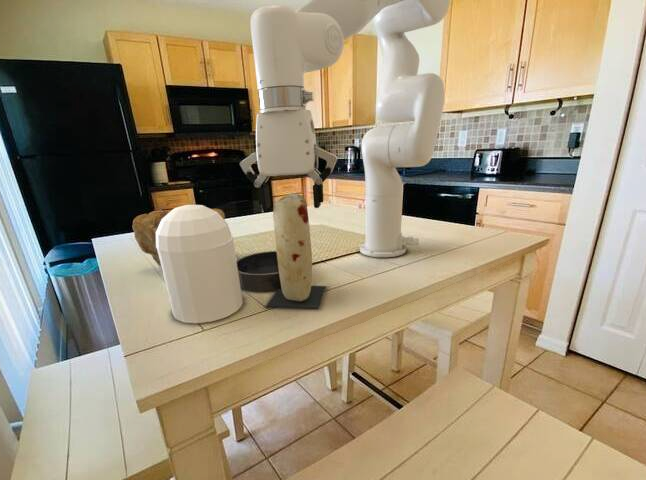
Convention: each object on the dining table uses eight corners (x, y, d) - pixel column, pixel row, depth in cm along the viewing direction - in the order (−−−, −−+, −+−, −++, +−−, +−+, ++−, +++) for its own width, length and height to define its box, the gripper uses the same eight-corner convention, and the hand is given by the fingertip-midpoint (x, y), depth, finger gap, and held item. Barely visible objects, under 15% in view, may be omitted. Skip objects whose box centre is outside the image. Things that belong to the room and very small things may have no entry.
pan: (310, 266, 85) (309, 251, 83) (295, 293, 70) (294, 275, 68) (249, 265, 88) (247, 250, 86) (222, 291, 73) (219, 274, 72)
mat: (325, 287, 72) (325, 285, 72) (317, 309, 63) (317, 307, 63) (280, 286, 74) (280, 285, 73) (266, 307, 65) (266, 305, 64)
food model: (320, 302, 64) (314, 196, 57) (285, 308, 63) (275, 200, 55) (308, 284, 73) (302, 189, 66) (278, 288, 72) (268, 192, 64)
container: (173, 330, 58) (144, 215, 51) (171, 300, 70) (148, 203, 62) (249, 312, 63) (233, 205, 55) (236, 287, 74) (221, 196, 67)
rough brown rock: (139, 291, 78) (123, 228, 71) (143, 264, 92) (130, 210, 85) (239, 275, 86) (233, 218, 79) (229, 253, 100) (223, 202, 93)
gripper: (337, 100, 57) (340, 202, 63) (241, 108, 60) (254, 205, 67) (331, 95, 50) (336, 210, 57) (223, 105, 53) (239, 213, 60)
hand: (291, 207), depth 62 cm, fingers open, 9 cm apart
